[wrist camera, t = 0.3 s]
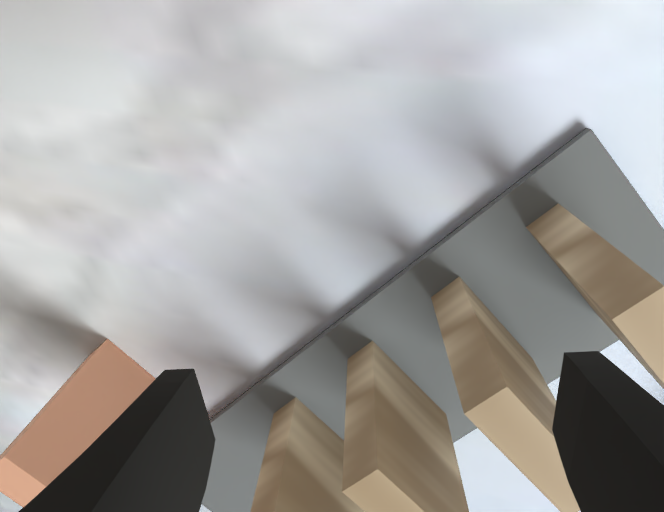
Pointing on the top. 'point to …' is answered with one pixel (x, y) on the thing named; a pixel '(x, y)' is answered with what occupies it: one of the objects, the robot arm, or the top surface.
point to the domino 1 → (71, 421)
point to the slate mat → (420, 318)
